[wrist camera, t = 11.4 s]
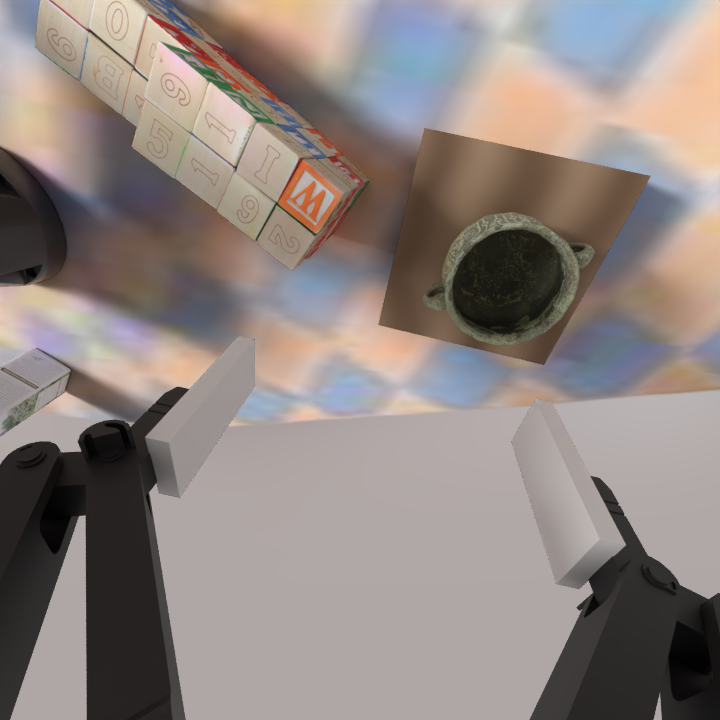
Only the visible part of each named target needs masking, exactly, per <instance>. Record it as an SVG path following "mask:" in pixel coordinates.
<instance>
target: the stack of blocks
mask: <svg viewBox="0 0 720 720" xmlns="http://www.w3.org/2000/svg"><path fill="white" fill-rule="evenodd" d="M35 47H36V48H37V49H38V50H39V51H40V52H41V53H43V54H44V55H45V56H46V57H48V58H49V59H50V60H52V61H53V62H54V63H56V64H57V65H58V66H60V67H61V68H62V69H63V70H64V71H66V72H67V73H68V74H70V75H71V76H73V77H74V78H75V79H77V80H79V81H80V83H81V84H82V85H83V86H84V87H85V88H87V89H88V90H89V91H91V92H92V93H93V94H94V95H96V96H97V97H98V98H100V99H101V100H102V101H104V102H105V103H106V104H108V105H109V106H110V107H111V108H113V109H114V110H115V111H116V112H118V113H119V114H121V115H122V116H123V117H124V118H125V119H126V120H127V121H129V122H130V123H131V124H133V125H134V126H135V127H137V129H136V132H135V135H134V138H133V141H132V148H134V149H135V150H136V151H137V152H139V153H140V154H141V155H143V156H144V157H145V158H147V159H148V160H149V161H151V162H152V163H154V164H155V165H156V166H158V167H159V168H160V169H161V170H163V171H164V172H165V173H167V174H168V175H169V176H171V177H172V178H174V179H177V180H178V181H179V182H180V183H181V184H183V185H184V186H185V187H186V188H188V189H189V190H190V191H192V192H193V193H194V194H196V195H197V196H199V197H200V198H201V199H202V200H204V201H205V202H206V203H208V204H209V205H210V206H212V207H213V208H215V209H216V210H217V212H218V213H219V214H220V215H222V216H223V217H224V218H225V219H227V220H228V221H229V222H231V223H232V224H233V225H235V226H236V227H237V228H238V229H240V230H241V231H242V232H244V233H245V234H246V235H248V236H249V237H250V238H252V239H253V240H256V241H257V243H258V245H259V246H261V247H262V248H263V249H265V250H266V251H267V252H268V253H270V254H271V255H272V256H274V257H275V258H276V259H277V260H279V261H280V262H281V263H282V264H284V265H285V266H286V267H288V268H289V269H291V270H294V269H295V268H296V267H297V266H298V265H299V264H300V263H301V262H302V261H303V260H304V259H308V258H309V257H310V256H311V255H312V254H313V253H314V252H315V251H316V250H317V249H318V248H319V246H320V245H321V244H322V243H323V242H324V241H326V240H327V239H328V238H329V237H330V236H331V235H332V234H333V233H334V231H335V230H336V228H337V227H338V225H339V224H340V223H341V221H342V220H343V218H344V217H345V215H346V214H347V212H348V211H349V209H350V207H351V206H352V204H353V203H354V201H355V200H356V199H357V197H358V196H359V194H360V193H361V191H362V190H363V189H364V187H365V186H366V184H367V183H368V182H369V179H368V178H367V177H366V176H365V175H364V174H363V173H362V172H360V171H359V170H358V169H357V168H356V167H355V166H354V165H353V164H352V163H350V162H349V161H348V160H347V159H346V158H345V157H344V156H343V154H342V153H341V152H340V151H339V150H338V149H336V148H335V147H334V146H333V145H332V144H331V143H330V142H329V141H328V140H326V139H325V138H324V137H323V136H322V135H321V134H320V133H319V132H318V131H316V130H315V129H314V128H313V127H312V126H311V125H310V124H309V123H308V122H307V121H306V120H305V119H303V118H302V117H301V116H300V115H299V114H298V113H297V112H296V111H294V110H293V109H292V108H291V107H290V106H289V105H287V104H284V103H283V102H282V101H281V100H280V99H279V98H278V97H276V96H275V95H274V94H273V93H272V92H271V91H270V90H269V89H267V88H266V87H265V86H264V85H263V84H262V83H261V82H260V81H259V80H257V79H256V78H254V77H253V76H252V75H251V74H250V73H248V72H247V71H246V70H245V69H244V68H243V67H242V66H241V65H239V64H238V63H237V62H236V61H235V60H234V59H233V58H231V57H230V56H229V55H228V54H227V53H226V52H224V49H223V47H222V46H221V45H219V44H218V43H217V42H216V41H215V40H214V39H213V38H212V37H211V36H210V35H208V34H207V33H206V32H205V31H204V30H203V29H202V28H201V27H199V26H198V25H197V24H196V23H195V22H194V21H193V20H191V19H190V18H188V17H187V16H186V15H185V14H184V13H183V12H182V11H181V10H180V9H178V8H177V7H176V6H175V5H174V4H173V3H172V2H170V1H169V0H40V6H39V14H38V24H37V31H36V40H35Z"/></svg>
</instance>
